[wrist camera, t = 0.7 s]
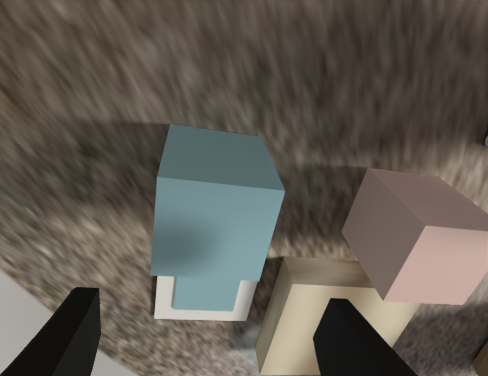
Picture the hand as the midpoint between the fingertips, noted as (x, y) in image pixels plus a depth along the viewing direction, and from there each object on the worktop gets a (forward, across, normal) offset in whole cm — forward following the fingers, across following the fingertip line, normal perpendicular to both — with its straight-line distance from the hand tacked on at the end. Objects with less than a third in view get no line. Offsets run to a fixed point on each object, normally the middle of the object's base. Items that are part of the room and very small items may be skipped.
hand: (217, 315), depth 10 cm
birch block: (+10, -11, +11) cm, 19 cm away
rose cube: (+10, -12, +1) cm, 16 cm away
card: (+10, -1, +9) cm, 13 cm away
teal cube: (+10, 0, 0) cm, 10 cm away
